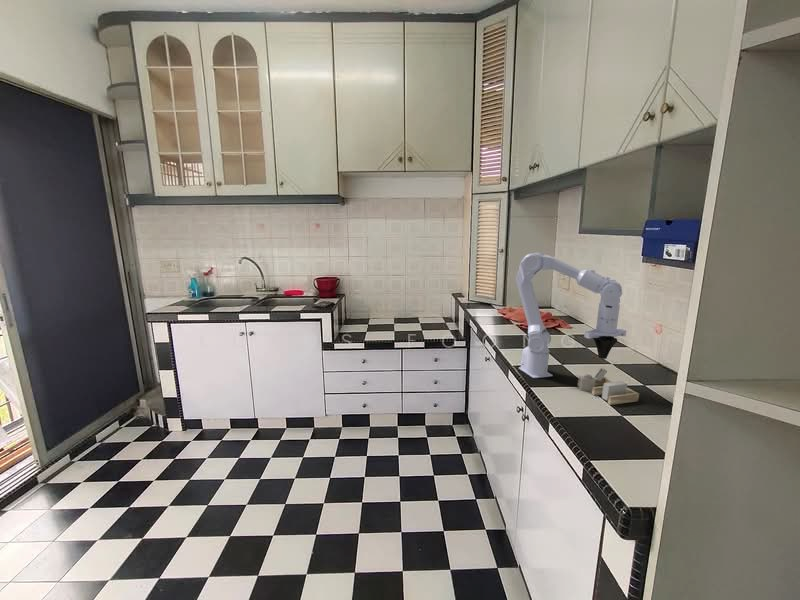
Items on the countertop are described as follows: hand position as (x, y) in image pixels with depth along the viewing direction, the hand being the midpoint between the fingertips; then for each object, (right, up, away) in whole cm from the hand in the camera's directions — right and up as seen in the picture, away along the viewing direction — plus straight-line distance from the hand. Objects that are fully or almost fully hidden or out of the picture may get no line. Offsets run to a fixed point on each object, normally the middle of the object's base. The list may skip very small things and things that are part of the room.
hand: (602, 357), depth 115 cm
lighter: (-4, -11, 0) cm, 12 cm away
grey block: (0, -12, -6) cm, 13 cm away
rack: (0, -11, -3) cm, 11 cm away
